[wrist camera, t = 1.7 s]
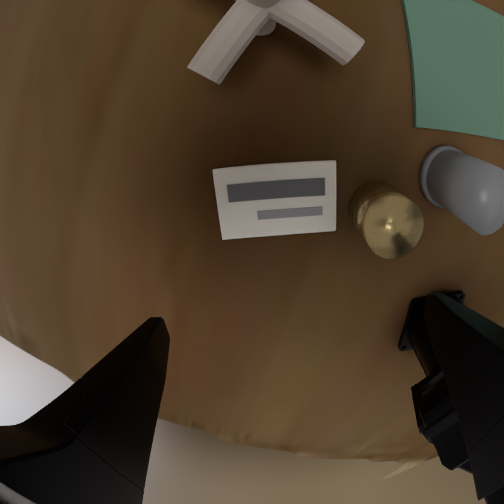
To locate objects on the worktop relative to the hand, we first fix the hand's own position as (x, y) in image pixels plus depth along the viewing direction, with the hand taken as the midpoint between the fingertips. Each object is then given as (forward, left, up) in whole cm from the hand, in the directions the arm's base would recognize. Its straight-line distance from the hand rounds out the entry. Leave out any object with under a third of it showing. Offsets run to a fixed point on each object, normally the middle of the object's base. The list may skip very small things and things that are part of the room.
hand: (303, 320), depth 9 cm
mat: (+11, -16, -12) cm, 23 cm away
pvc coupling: (+1, -13, -12) cm, 18 cm away
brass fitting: (-1, -7, -12) cm, 14 cm away
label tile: (0, 0, -12) cm, 12 cm away
